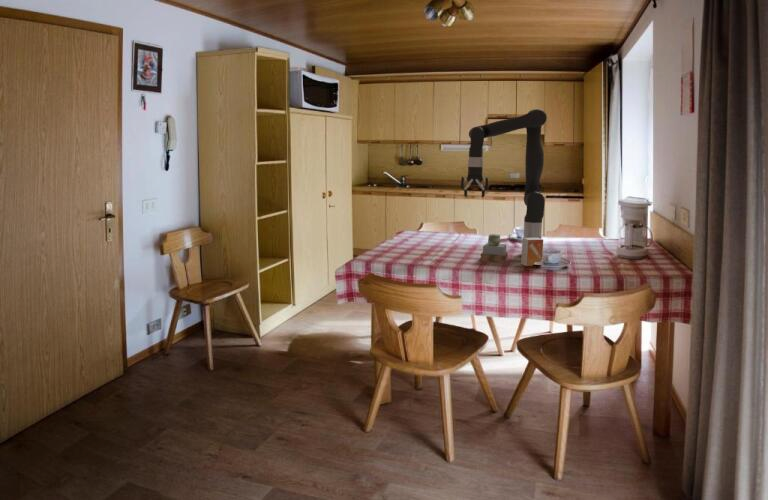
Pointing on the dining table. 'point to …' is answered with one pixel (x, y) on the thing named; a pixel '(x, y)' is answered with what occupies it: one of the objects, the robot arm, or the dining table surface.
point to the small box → (531, 251)
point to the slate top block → (494, 249)
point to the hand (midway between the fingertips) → (474, 197)
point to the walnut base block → (494, 258)
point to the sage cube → (494, 240)
